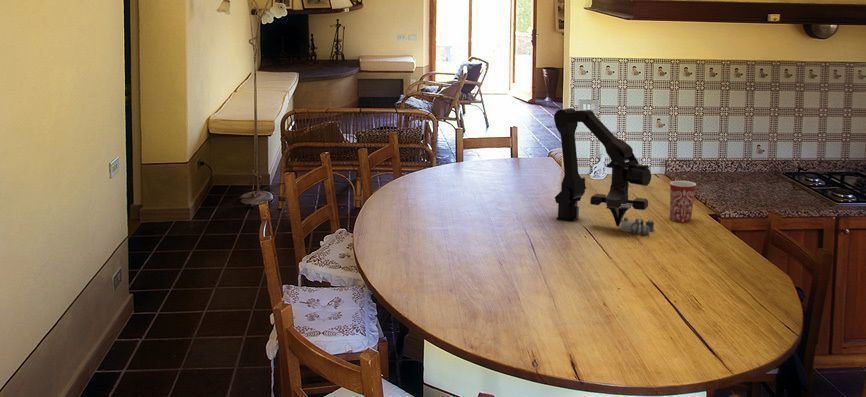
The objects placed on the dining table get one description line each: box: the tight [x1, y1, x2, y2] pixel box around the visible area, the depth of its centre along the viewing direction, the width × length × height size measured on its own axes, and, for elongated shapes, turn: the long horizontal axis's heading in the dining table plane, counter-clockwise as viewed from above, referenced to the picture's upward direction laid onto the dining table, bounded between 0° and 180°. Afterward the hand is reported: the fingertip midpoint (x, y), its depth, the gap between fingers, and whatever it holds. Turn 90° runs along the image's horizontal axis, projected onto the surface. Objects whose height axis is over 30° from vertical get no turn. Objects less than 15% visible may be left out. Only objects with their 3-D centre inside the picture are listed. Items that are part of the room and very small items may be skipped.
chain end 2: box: [640, 219, 655, 237], centre depth 297 cm, size 2×9×3 cm, turn 153°
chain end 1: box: [629, 218, 645, 236], centre depth 299 cm, size 2×9×3 cm, turn 153°
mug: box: [669, 180, 697, 223], centre depth 314 cm, size 13×9×14 cm
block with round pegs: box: [620, 217, 641, 233], centre depth 300 cm, size 6×4×4 cm, turn 64°
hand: (617, 226), depth 302 cm, fingers closed
